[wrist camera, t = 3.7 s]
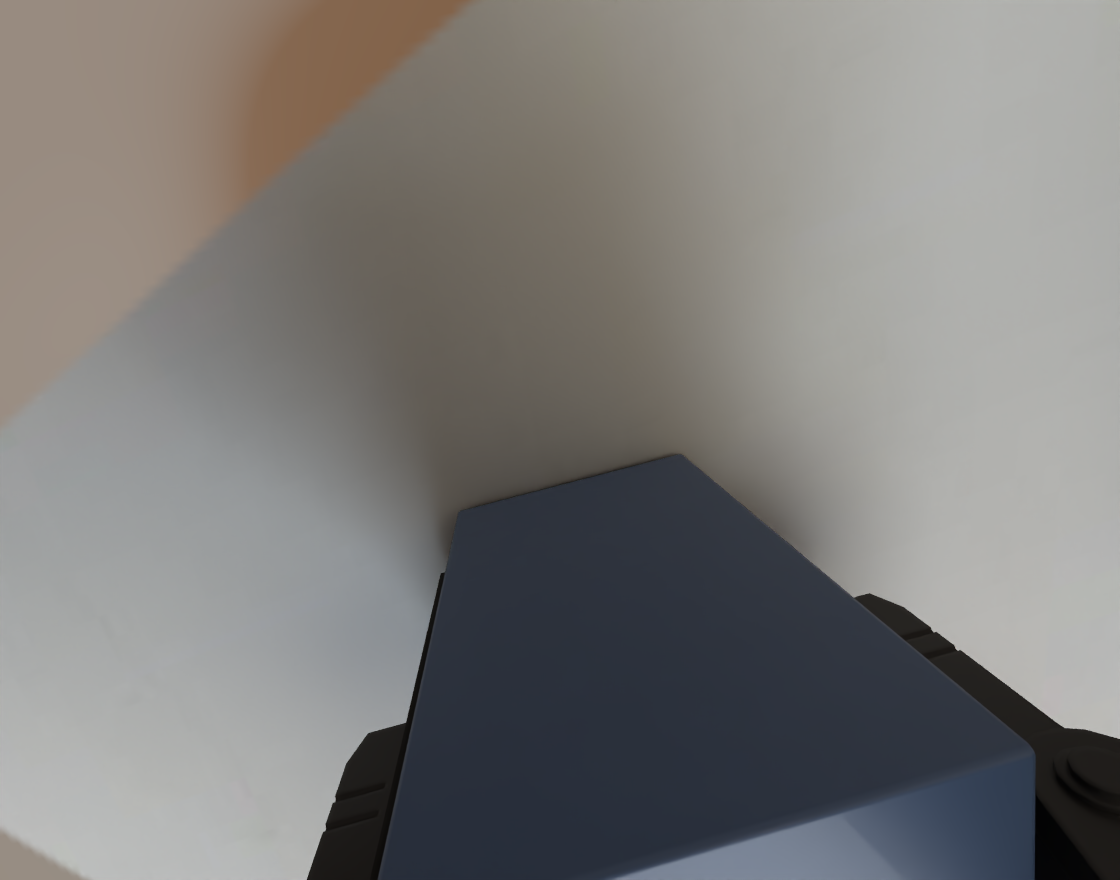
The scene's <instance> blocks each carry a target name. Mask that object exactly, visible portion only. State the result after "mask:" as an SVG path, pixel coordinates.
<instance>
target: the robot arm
mask: <svg viewBox="0 0 1120 880" xmlns="http://www.w3.org/2000/svg"><path fill="white" fill-rule="evenodd" d="M444 576H445V572H444V573H441V575H440V579H439V583H438V588H437V592H436V596H435V601H434V605H433V609H432V614H431V618H430V622H429V627H428V631H427V635H426V639H425V644H424V648H423V652H422V657H421V661H420V665H419V670H418V674H417V678H416V683H415V687H414V691H413V696H412V700H411V704H410V709H409V713H408V717H407V721H406V723H404V724H400V725H396V726H393V727H389V728H385V729H382V730H378V731H375V732H371V733H368V734H367V736H366V737H365V738H364V740H363V741H362V743H361V744H360V745H359V747H358V748H357V750H356V751H355V752H354V754H353V755H352V757H351V758H350V759H349V761H348V762H347V764H346V766H345V769H344V772H343V775H342V778H341V781H340V784H339V787H338V790H337V793H336V796H335V797H336V802H335V803H333V804H332V807H331V810H330V813H329V816H328V819H327V822H326V831H325V832H323V834H322V837H321V839H320V842H319V845H318V848H317V851H316V854H315V857H314V860H313V863H312V866H311V869H310V872H309V875H308V878H307V880H378V876H379V872H380V867H381V862H382V858H383V853H384V849H385V844H386V840H387V835H388V831H389V826H390V821H391V817H392V812H393V808H394V803H395V799H396V794H397V790H398V785H399V781H400V776H401V771H402V767H403V762H404V758H405V753H406V749H407V744H408V740H409V735H410V730H411V726H412V721H413V717H414V712H415V708H416V703H417V699H418V694H419V689H420V685H421V680H422V676H423V671H424V667H425V662H426V658H427V653H428V649H429V644H430V639H431V635H432V630H433V626H434V621H435V617H436V612H437V608H438V603H439V598H440V594H441V589H442V585H443V580H444ZM854 598H855V599H856V600H857V601H858V602H859V603H861V604H862V605H863V606H864V607H865V608H867V609H868V610H869V611H870V612H871V613H873V614H874V615H875V616H876V617H877V618H879V619H880V620H881V621H882V622H883V623H885V624H886V625H887V626H888V627H889V628H891V629H892V630H893V631H894V632H895V633H897V634H898V635H899V636H900V637H901V638H903V639H904V640H905V641H906V642H907V643H909V644H910V645H911V646H912V647H913V648H915V649H916V650H917V651H918V652H919V653H921V654H922V655H923V656H924V657H925V658H927V659H928V660H929V661H930V662H931V663H933V664H934V665H935V666H936V667H937V668H939V669H940V670H941V671H942V672H943V673H945V674H946V675H947V676H948V677H949V678H951V679H952V680H953V681H954V682H955V683H957V684H958V685H959V686H960V687H961V688H963V689H964V690H965V691H966V692H967V693H969V694H970V695H971V696H972V697H973V698H975V699H976V700H977V701H978V702H979V703H981V704H982V705H983V706H984V707H985V708H987V709H988V710H989V711H990V712H991V713H993V714H994V715H995V716H996V717H997V718H999V719H1000V720H1001V721H1002V722H1003V723H1005V724H1006V725H1007V726H1008V727H1009V728H1011V729H1012V730H1013V731H1014V732H1015V733H1017V734H1018V735H1019V736H1020V737H1021V738H1023V739H1024V740H1025V741H1026V742H1027V743H1029V745H1030V746H1031V747H1032V749H1033V750H1034V752H1035V755H1036V770H1035V880H1120V739H1117V738H1114V737H1110V736H1106V735H1103V734H1099V733H1096V732H1092V731H1088V730H1084V729H1069V728H1064V727H1062V726H1061V725H1059V724H1057V723H1056V722H1055V721H1053V720H1052V719H1051V718H1050V717H1048V716H1047V715H1046V714H1044V713H1043V712H1042V711H1040V710H1039V709H1038V708H1036V707H1035V706H1034V705H1032V704H1031V703H1030V702H1028V701H1027V700H1026V699H1024V698H1023V697H1022V696H1020V695H1019V694H1018V693H1016V692H1015V691H1014V690H1012V689H1011V688H1010V687H1009V686H1007V685H1006V684H1005V683H1003V682H1002V681H1001V680H999V679H998V678H997V677H995V676H994V675H993V674H991V673H990V672H989V671H987V670H986V669H985V668H983V667H982V666H981V665H979V664H978V663H977V662H975V661H974V660H973V659H972V658H970V657H969V656H968V655H966V654H965V653H964V652H962V651H961V650H959V651H957V650H956V649H955V646H954V645H953V644H952V643H950V642H949V641H948V640H946V639H945V638H944V637H942V636H941V635H940V634H938V633H937V632H935V633H933V631H932V630H931V627H929V626H928V625H927V624H925V623H924V622H923V621H921V620H920V619H919V618H917V617H916V616H915V615H913V614H912V613H911V612H909V611H908V610H907V609H905V608H904V607H902V606H899V605H897V604H894V603H892V602H890V601H887V600H885V599H882V598H880V597H877V596H875V595H872V594H870V593H869V594H865V595H862V596H858V597H854Z"/></svg>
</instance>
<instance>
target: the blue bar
mask: <svg viewBox="0 0 1120 880" xmlns="http://www.w3.org/2000/svg"><path fill="white" fill-rule="evenodd" d="M1035 770H1036V755H1035V752H1034V750H1033V749H1032V747H1031V746H1030V745H1029V743H1027V742H1026V741H1025V740H1024V739H1023V738H1021V737H1020V736H1019V735H1018V734H1017V733H1015V732H1014V731H1013V730H1012V729H1011V728H1009V727H1008V726H1007V725H1006V724H1005V723H1003V722H1002V721H1001V720H1000V719H999V718H997V717H996V716H995V715H994V714H993V713H991V712H990V711H989V710H988V709H987V708H985V707H984V706H983V705H982V704H981V703H979V702H978V701H977V700H976V699H975V698H973V697H972V696H971V695H970V694H969V693H967V692H966V691H965V690H964V689H963V688H961V687H960V686H959V685H958V684H957V683H955V682H954V681H953V680H952V679H951V678H949V677H948V676H947V675H946V674H945V673H943V672H942V671H941V670H940V669H939V668H937V667H936V666H935V665H934V664H933V663H931V662H930V661H929V660H928V659H927V658H925V657H924V656H923V655H922V654H921V653H919V652H918V651H917V650H916V649H915V648H913V647H912V646H911V645H910V644H909V643H907V642H906V641H905V640H904V639H903V638H901V637H900V636H899V635H898V634H897V633H895V632H894V631H893V630H892V629H891V628H889V627H888V626H887V625H886V624H885V623H883V622H882V621H881V620H880V619H879V618H877V617H876V616H875V615H874V614H873V613H871V612H870V611H869V610H868V609H867V608H865V607H864V606H863V605H862V604H861V603H859V602H858V601H857V600H856V599H855V598H853V597H852V596H851V595H850V594H849V593H847V592H846V591H845V590H844V589H843V588H841V587H840V586H839V585H838V584H837V583H835V582H834V581H833V580H832V579H831V578H829V577H828V576H827V575H826V574H825V573H823V572H822V571H821V570H820V569H819V568H817V567H816V566H815V565H814V564H813V563H811V562H810V561H809V560H808V559H807V558H805V557H804V556H803V555H802V554H801V553H799V552H798V551H797V550H796V549H795V548H793V547H792V546H791V545H790V544H789V543H787V542H786V541H785V540H784V539H783V538H781V537H780V536H779V535H778V534H777V533H775V532H774V531H773V530H772V529H771V528H769V527H768V526H767V525H766V524H765V523H763V522H762V521H761V520H760V519H759V518H757V517H756V516H755V515H754V514H753V513H751V512H750V511H749V510H748V509H747V508H745V507H744V506H743V505H742V504H741V503H739V502H738V501H737V500H736V499H735V498H733V497H732V496H731V495H730V494H729V493H727V492H726V491H725V490H724V489H723V488H721V487H720V486H719V485H718V484H717V483H715V482H714V481H713V480H712V479H711V478H709V477H708V476H707V475H706V474H705V473H703V472H702V471H701V470H700V469H699V468H697V467H696V466H695V465H694V464H693V463H691V462H690V461H689V460H688V459H687V458H685V457H684V456H683V455H681V454H678V455H675V456H671V457H667V458H663V459H659V460H655V461H652V462H648V463H644V464H640V465H636V466H632V467H628V468H625V469H621V470H617V471H613V472H609V473H605V474H601V475H598V476H594V477H590V478H586V479H582V480H578V481H574V482H571V483H567V484H563V485H559V486H555V487H551V488H547V489H544V490H540V491H536V492H532V493H528V494H524V495H520V496H517V497H513V498H509V499H505V500H501V501H497V502H494V503H490V504H486V505H482V506H478V507H474V508H470V509H467V510H463V511H460V512H458V517H457V521H456V526H455V530H454V535H453V539H452V544H451V548H450V553H449V558H448V562H447V567H446V571H445V576H444V580H443V585H442V589H441V594H440V598H439V603H438V608H437V612H436V617H435V621H434V626H433V630H432V635H431V639H430V644H429V649H428V653H427V658H426V662H425V667H424V671H423V676H422V680H421V685H420V689H419V694H418V699H417V703H416V708H415V712H414V717H413V721H412V726H411V730H410V735H409V740H408V744H407V749H406V753H405V758H404V762H403V767H402V771H401V776H400V781H399V785H398V790H397V794H396V799H395V803H394V808H393V812H392V817H391V821H390V826H389V831H388V835H387V840H386V844H385V849H384V853H383V858H382V862H381V867H380V872H379V876H378V880H1035Z"/></svg>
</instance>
